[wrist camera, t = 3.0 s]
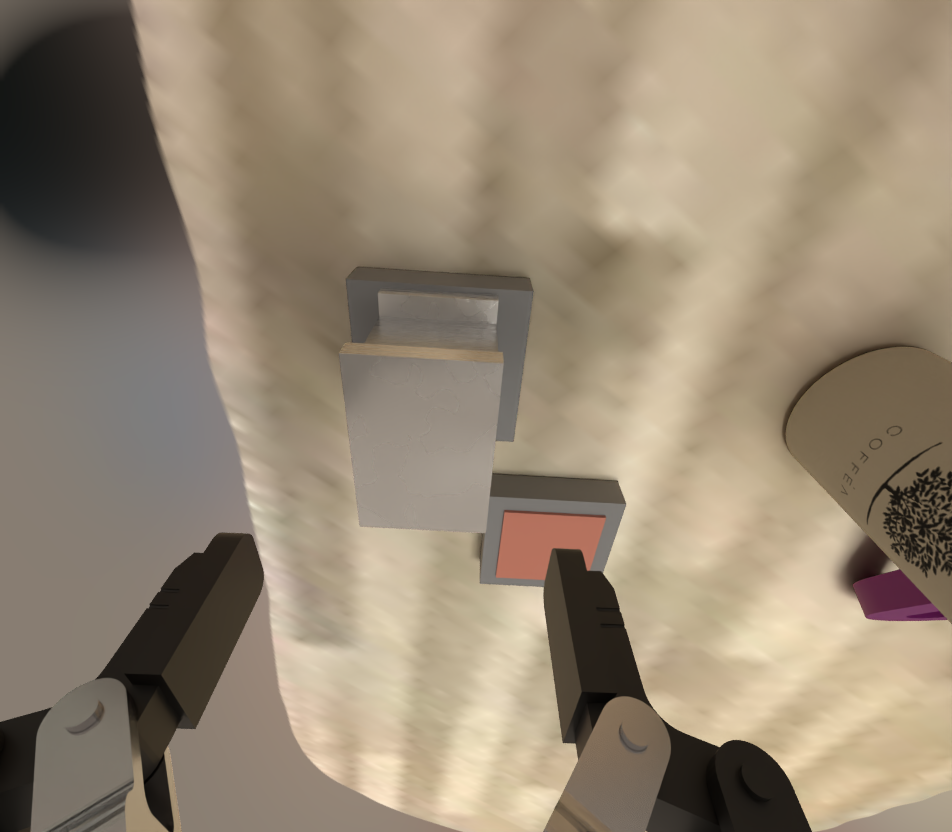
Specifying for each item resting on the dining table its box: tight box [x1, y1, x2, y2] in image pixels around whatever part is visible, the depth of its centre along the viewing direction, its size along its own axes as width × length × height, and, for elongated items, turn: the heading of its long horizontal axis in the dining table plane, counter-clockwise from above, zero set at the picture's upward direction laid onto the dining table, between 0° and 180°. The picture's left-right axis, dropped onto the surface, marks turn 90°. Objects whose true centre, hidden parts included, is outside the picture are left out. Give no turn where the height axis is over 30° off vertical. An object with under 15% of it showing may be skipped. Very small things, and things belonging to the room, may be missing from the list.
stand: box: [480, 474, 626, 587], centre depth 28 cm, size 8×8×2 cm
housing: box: [339, 287, 504, 533], centre depth 18 cm, size 8×5×7 cm, turn 177°
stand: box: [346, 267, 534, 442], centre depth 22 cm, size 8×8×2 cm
